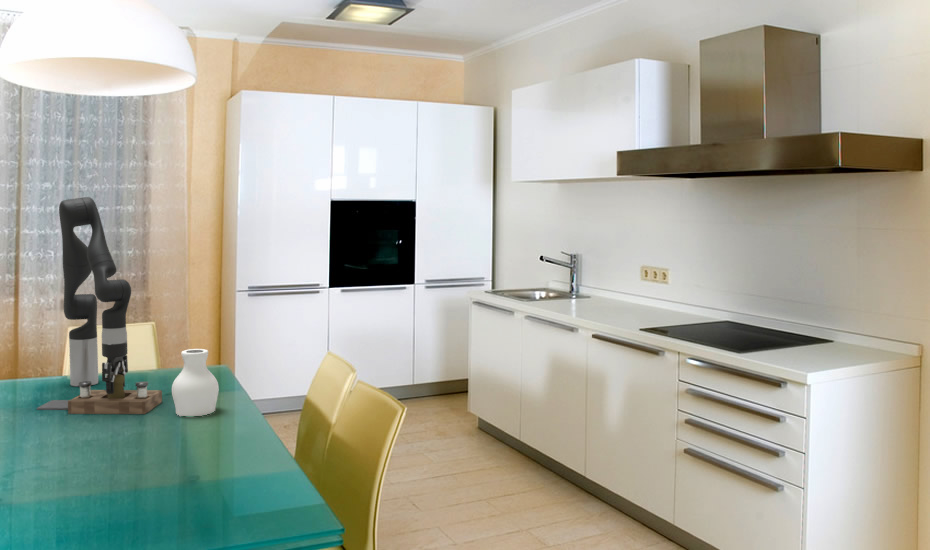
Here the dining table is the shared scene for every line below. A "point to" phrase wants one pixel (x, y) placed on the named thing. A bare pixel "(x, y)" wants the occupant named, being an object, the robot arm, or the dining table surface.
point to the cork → (118, 388)
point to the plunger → (85, 389)
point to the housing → (115, 403)
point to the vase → (195, 385)
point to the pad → (55, 405)
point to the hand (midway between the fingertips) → (115, 390)
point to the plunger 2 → (141, 390)
